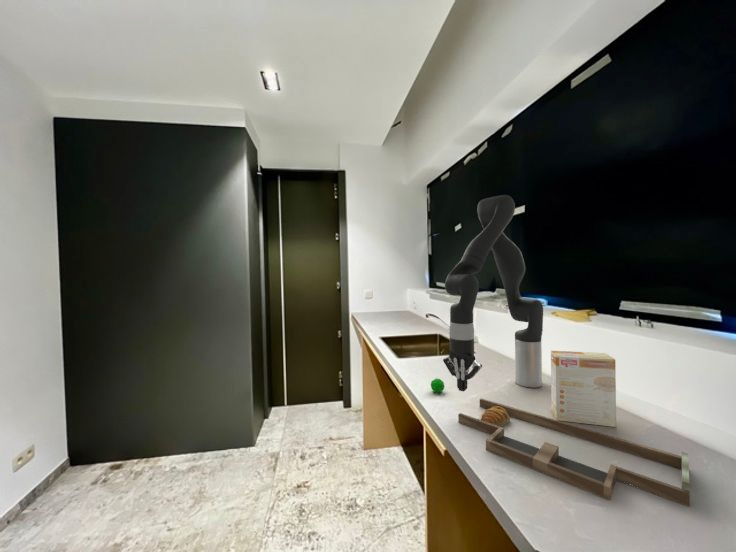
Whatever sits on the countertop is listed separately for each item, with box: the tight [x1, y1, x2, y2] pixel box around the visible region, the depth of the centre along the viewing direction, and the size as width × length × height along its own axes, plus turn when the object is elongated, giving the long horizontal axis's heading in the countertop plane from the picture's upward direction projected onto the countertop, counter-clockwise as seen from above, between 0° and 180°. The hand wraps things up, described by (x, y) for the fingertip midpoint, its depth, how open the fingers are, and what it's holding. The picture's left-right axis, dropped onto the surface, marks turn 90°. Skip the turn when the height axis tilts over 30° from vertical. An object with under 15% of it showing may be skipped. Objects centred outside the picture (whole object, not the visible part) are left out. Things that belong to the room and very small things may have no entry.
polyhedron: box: [430, 377, 445, 394], centre depth 116 cm, size 5×5×5 cm
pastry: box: [480, 406, 511, 427], centre depth 92 cm, size 9×7×4 cm
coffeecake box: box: [550, 350, 617, 428], centre depth 93 cm, size 15×7×20 cm, turn 71°
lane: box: [457, 398, 691, 507], centre depth 78 cm, size 23×48×4 cm, turn 45°
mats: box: [498, 435, 608, 483], centre depth 73 cm, size 8×23×1 cm, turn 45°
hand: (462, 390), depth 100 cm, fingers closed
